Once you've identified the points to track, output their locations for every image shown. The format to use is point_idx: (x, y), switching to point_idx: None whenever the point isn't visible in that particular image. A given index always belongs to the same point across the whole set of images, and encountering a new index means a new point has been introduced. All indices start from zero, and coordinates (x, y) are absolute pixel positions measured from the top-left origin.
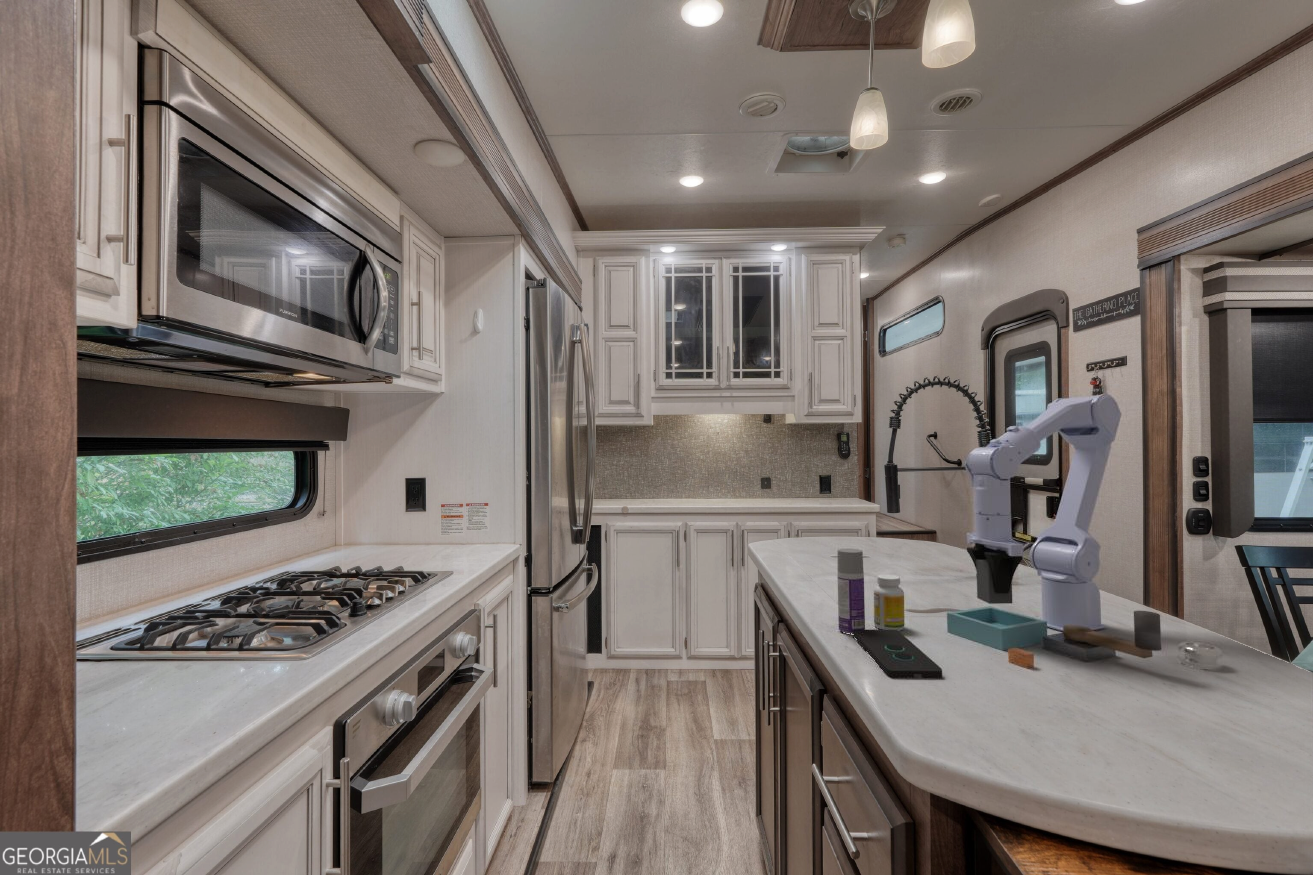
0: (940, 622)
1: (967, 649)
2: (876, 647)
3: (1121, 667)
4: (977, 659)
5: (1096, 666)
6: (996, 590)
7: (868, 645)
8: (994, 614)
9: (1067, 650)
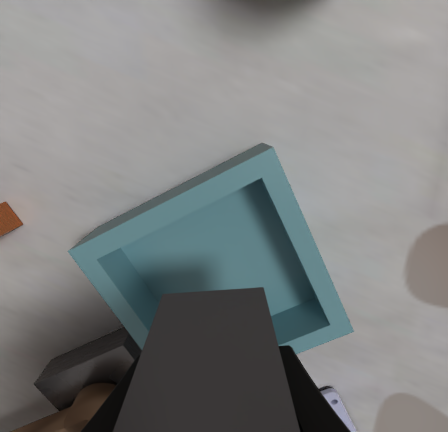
0: (367, 161)
1: (90, 134)
2: None
3: (35, 397)
4: (2, 125)
5: (28, 362)
6: (132, 364)
7: None
8: (311, 316)
9: (78, 354)
